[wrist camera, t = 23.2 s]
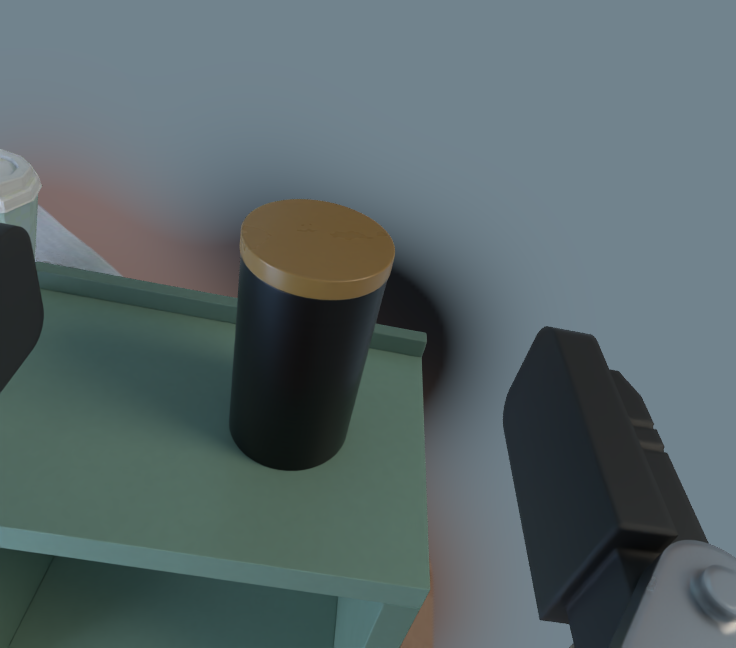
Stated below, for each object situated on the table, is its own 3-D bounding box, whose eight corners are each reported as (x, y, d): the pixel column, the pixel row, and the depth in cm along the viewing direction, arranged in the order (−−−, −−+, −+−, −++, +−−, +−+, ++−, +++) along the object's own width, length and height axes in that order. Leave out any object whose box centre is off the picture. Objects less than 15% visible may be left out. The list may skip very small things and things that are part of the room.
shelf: (-32, 708, 32) (-173, 482, 19) (79, 494, 43) (36, 260, 30) (343, 754, 34) (438, 574, 21) (358, 536, 45) (426, 332, 32)
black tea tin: (213, 460, 24) (223, 262, 18) (242, 371, 29) (258, 187, 23) (342, 482, 25) (394, 294, 19) (352, 391, 29) (396, 215, 23)
